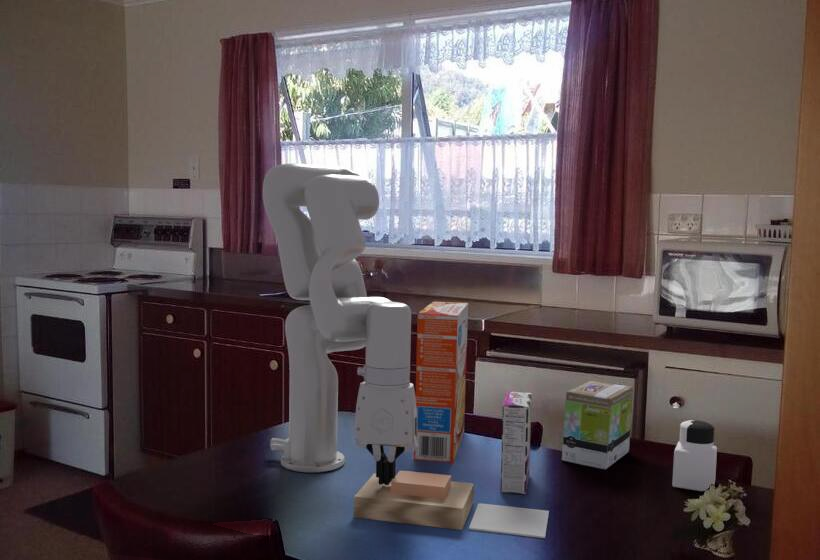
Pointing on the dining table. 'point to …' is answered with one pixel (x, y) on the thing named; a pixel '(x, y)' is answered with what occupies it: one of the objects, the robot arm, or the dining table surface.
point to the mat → (510, 520)
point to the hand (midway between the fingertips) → (385, 482)
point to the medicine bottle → (695, 456)
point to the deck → (414, 505)
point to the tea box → (597, 424)
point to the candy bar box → (516, 442)
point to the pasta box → (441, 380)
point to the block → (421, 484)
